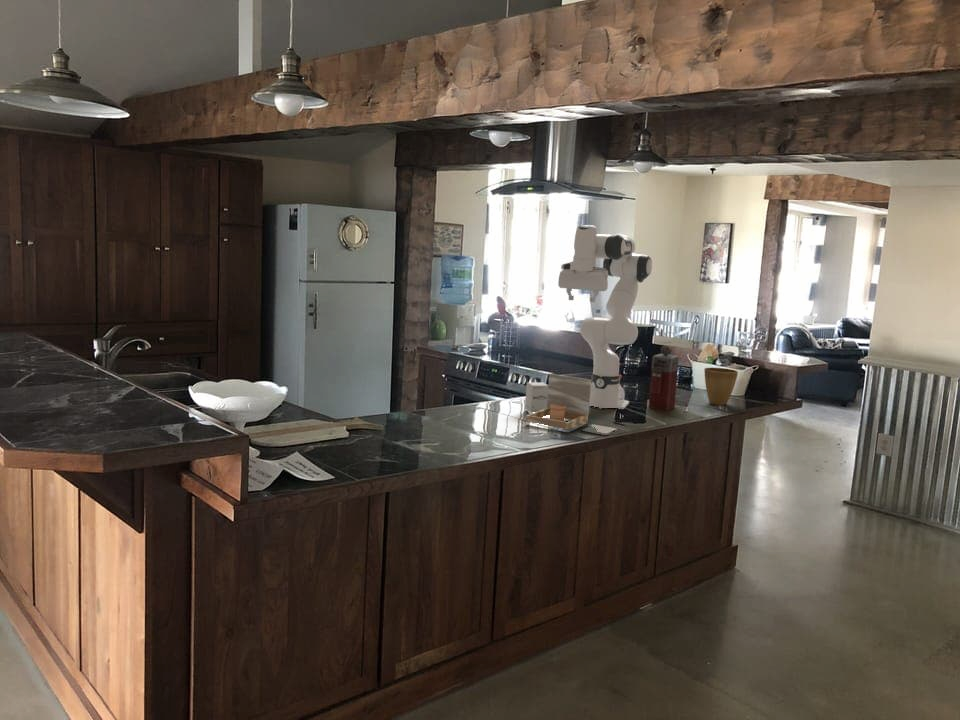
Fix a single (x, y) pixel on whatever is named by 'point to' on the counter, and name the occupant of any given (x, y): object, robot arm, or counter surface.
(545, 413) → the cold frame
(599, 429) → the stone paver
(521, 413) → the counter surface
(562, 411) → the terracotta pot
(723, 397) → the plant pot
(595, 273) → the robot arm
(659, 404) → the red liquid bottle
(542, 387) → the supplement box
